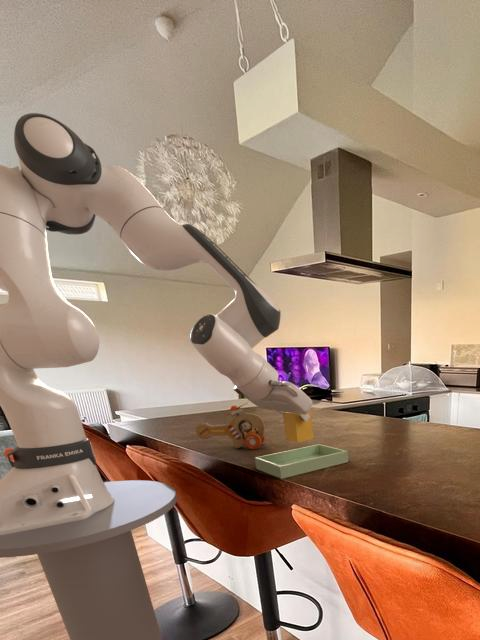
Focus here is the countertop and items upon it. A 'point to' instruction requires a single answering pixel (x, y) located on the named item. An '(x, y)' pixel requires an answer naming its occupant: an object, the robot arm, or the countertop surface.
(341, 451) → the tray
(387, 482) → the countertop surface
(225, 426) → the toy helicopter
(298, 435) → the yellow block with ball
